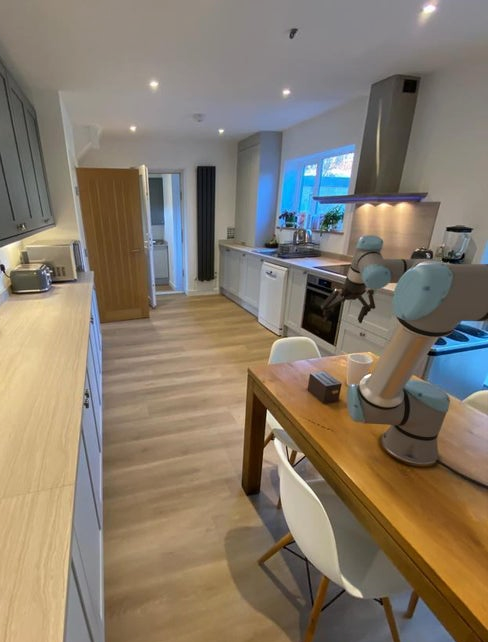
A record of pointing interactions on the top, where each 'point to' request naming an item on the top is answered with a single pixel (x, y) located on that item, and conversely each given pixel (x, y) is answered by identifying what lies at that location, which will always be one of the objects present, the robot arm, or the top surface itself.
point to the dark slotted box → (324, 386)
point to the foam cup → (357, 368)
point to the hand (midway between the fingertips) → (342, 321)
